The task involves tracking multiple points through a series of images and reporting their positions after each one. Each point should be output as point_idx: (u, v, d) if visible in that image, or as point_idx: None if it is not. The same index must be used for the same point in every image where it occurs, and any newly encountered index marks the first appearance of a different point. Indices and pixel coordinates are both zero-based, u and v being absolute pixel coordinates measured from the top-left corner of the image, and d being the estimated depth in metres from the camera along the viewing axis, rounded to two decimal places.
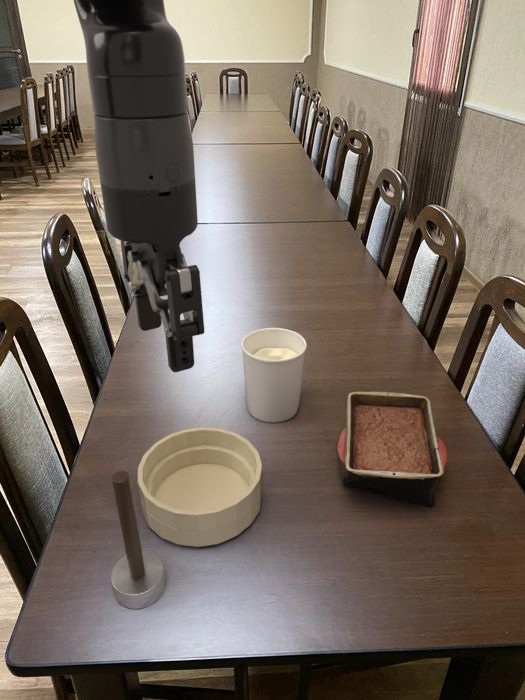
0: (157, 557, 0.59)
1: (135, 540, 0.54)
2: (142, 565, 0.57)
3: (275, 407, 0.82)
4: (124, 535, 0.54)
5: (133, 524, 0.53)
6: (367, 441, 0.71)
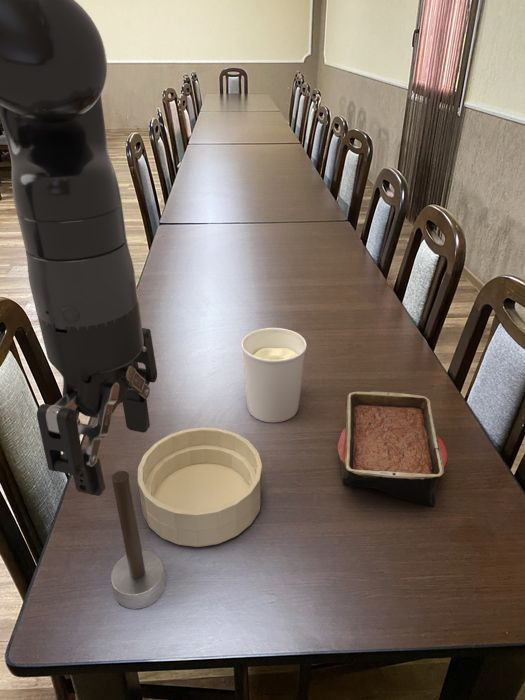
0: (157, 557, 0.59)
1: (135, 540, 0.54)
2: (142, 565, 0.57)
3: (275, 407, 0.82)
4: (124, 535, 0.54)
5: (133, 524, 0.53)
6: (367, 441, 0.71)
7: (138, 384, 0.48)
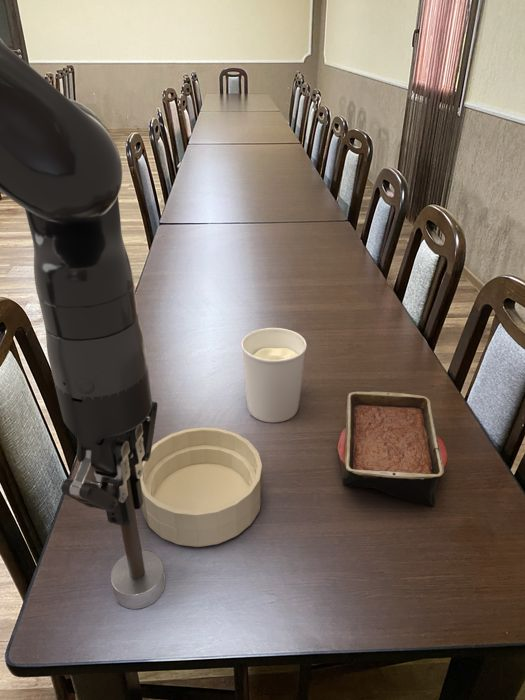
0: (157, 557, 0.59)
1: (135, 540, 0.54)
2: (142, 565, 0.57)
3: (275, 407, 0.82)
4: (124, 535, 0.54)
5: (133, 524, 0.53)
6: (367, 441, 0.71)
7: (139, 451, 0.50)
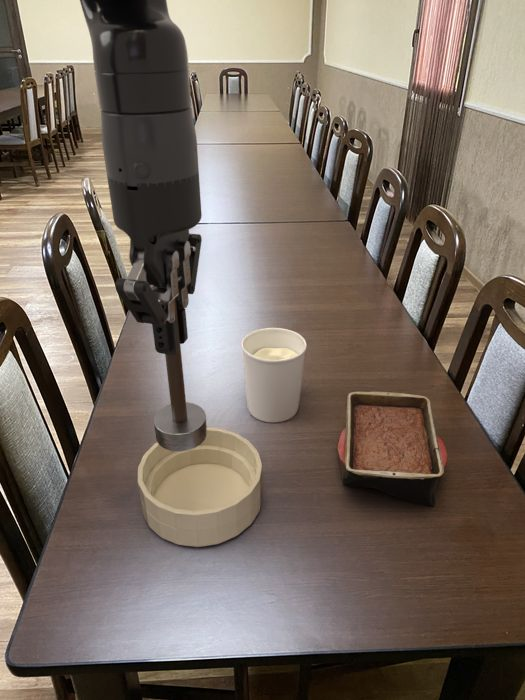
0: (198, 407, 0.60)
1: (180, 377, 0.55)
2: (185, 408, 0.57)
3: (275, 407, 0.82)
4: (169, 370, 0.54)
5: (178, 357, 0.54)
6: (367, 441, 0.71)
7: (186, 273, 0.50)
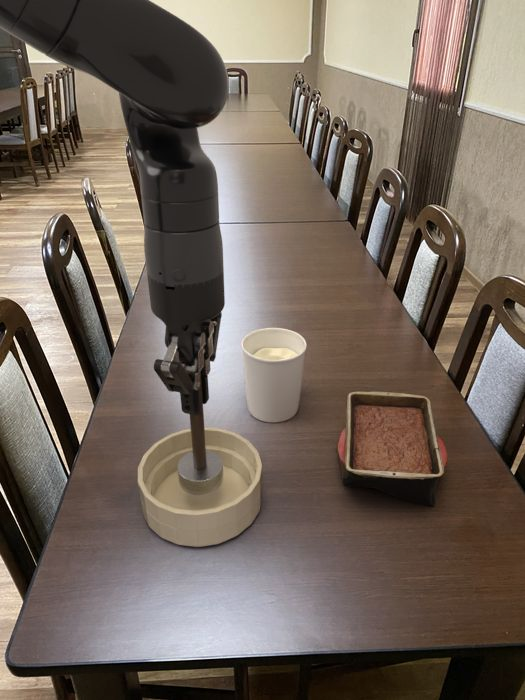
0: (216, 454, 0.68)
1: (201, 432, 0.63)
2: (205, 457, 0.65)
3: (275, 407, 0.82)
4: (193, 426, 0.62)
5: (201, 416, 0.62)
6: (367, 441, 0.71)
7: (210, 347, 0.58)
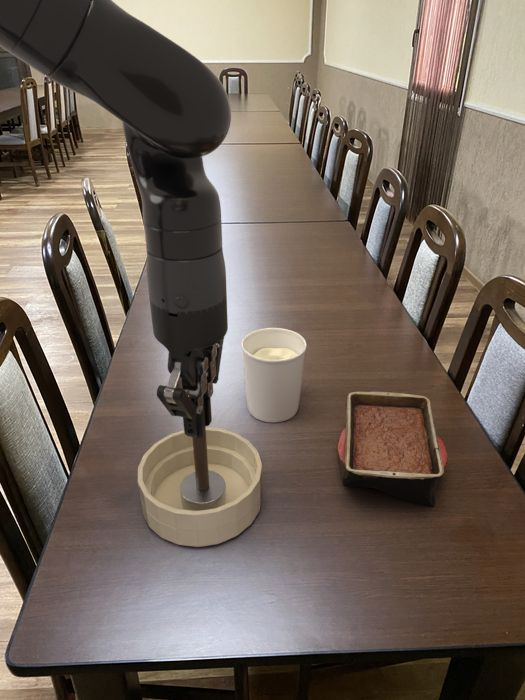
0: (218, 475, 0.68)
1: (204, 454, 0.63)
2: (208, 479, 0.65)
3: (275, 407, 0.82)
4: (195, 449, 0.62)
5: (204, 438, 0.61)
6: (367, 441, 0.71)
7: (213, 370, 0.58)
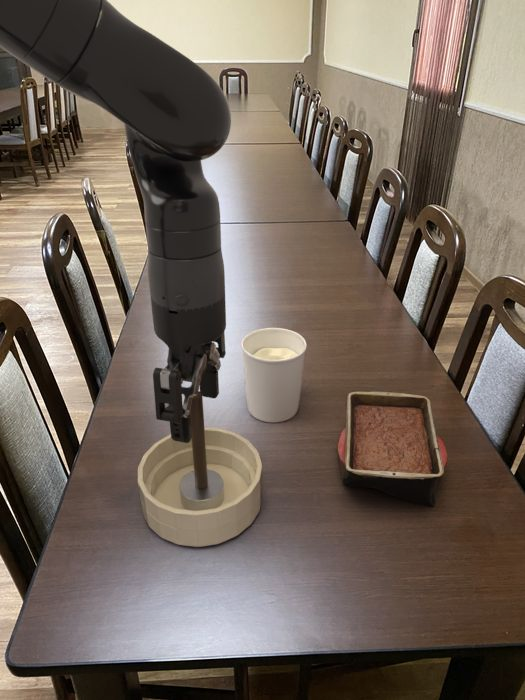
0: (217, 474, 0.70)
1: (203, 453, 0.65)
2: (206, 477, 0.67)
3: (275, 407, 0.82)
4: (194, 448, 0.64)
5: (202, 438, 0.64)
6: (367, 441, 0.71)
7: (216, 357, 0.61)
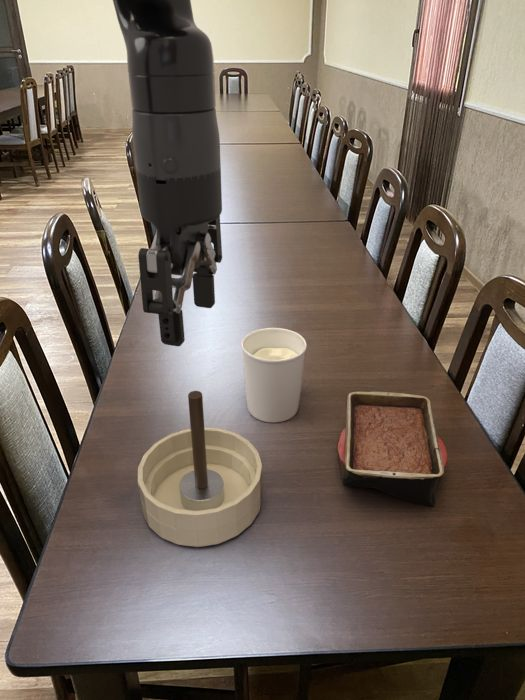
0: (217, 474, 0.70)
1: (203, 453, 0.65)
2: (206, 477, 0.67)
3: (275, 407, 0.82)
4: (194, 448, 0.64)
5: (202, 438, 0.64)
6: (367, 441, 0.71)
7: (211, 254, 0.54)
